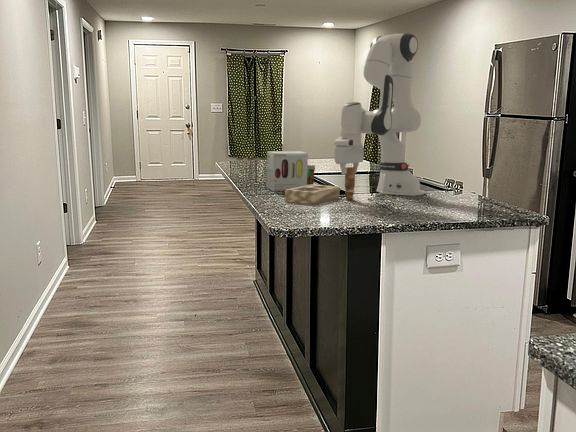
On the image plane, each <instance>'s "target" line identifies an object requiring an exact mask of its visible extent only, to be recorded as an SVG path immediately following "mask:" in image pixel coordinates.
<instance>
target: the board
mask: <svg viewBox="0 0 576 432" xmlns="http://www.w3.org/2000/svg"><path fill="white" fill-rule="evenodd" d="M340 190H341V189H340V186H336V185H326V184H315V183H314V184H311V185H306V186H301V187H296V188H291V189H286V190H285V191H284V192H285V193H284V201H285V202H288V203H296V204H297V203H298V204H304V205H317V204H320V203H325V202H329V201H332V200H337V199H339V198H340Z"/></svg>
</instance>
